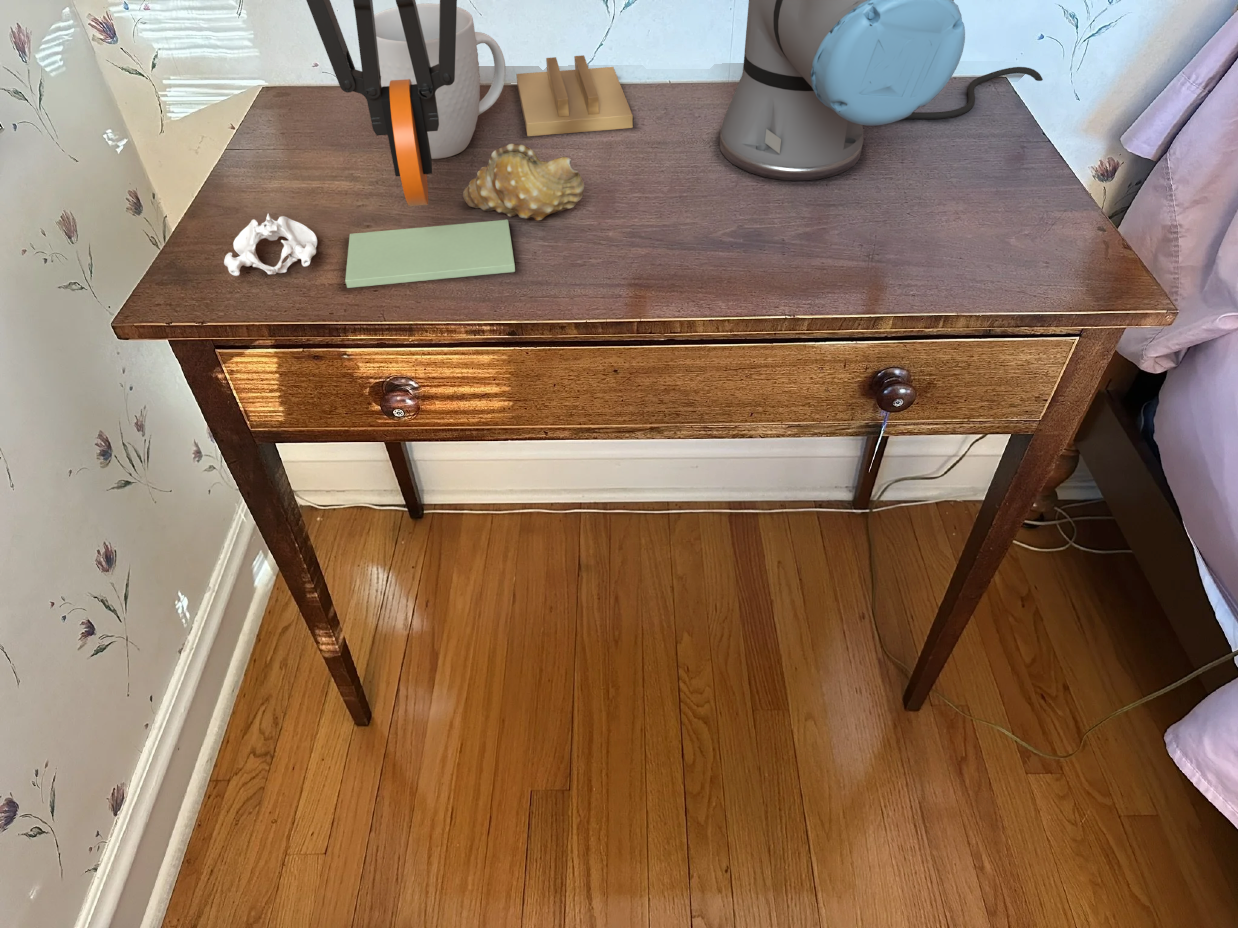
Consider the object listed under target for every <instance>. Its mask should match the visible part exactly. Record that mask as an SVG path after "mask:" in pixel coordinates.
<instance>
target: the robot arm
mask: <svg viewBox="0 0 1238 928" xmlns="http://www.w3.org/2000/svg"><path fill="white" fill-rule="evenodd" d="M305 1H306V3H307V6H308V8H309V11H310V13H311V15H312V16H311V17H312V19H313V21H314V23H315V26H316V29H317V31H318V35H319V37H320V39H321V41H322V44H323V47H324V49H325V52H326V55H327V57H328V59H329V62H330V65H331V68H332V69H333V73H334V75H335V77H336V80H337V83H338V85H339V87H340V89H341V90H342V92H345V93H352V92H354V93H358V94H360V95H362V96H363V97H364V98H365V99H366V102H367V108H368V112H369V117H370V122H371V126H372V131H373V132H374V135H376V136H387V138H388V143H389V150H390V154H391V159H392V165H393V170H394V175H395V177H400V172H399V167H398V161H397V155H396V148H395V142H394V134H393V127H392V118H391V109H390V95H389V86H383V87H382V86H381V75H380V66H379V57H378V47H377V38H376V29H375V19H374V15H375V11H374V2H373V0H352V3H353V9H354V16H355V25H356V32H357V40H358V49H359V56H360V65H361V70H358V69H356V66H355V63H354V62H353V58H352V55H351V53H350V51H349V48H348V45H347V43H346V39H345V37H344V35H343V34H344V33H343V32H342V29H341V26H340V23H339V21H338V18H337V16H336V13H335V10H334V7H333V5H332V2H331V0H305ZM416 1H417V0H395V3H396V7H398V9H399V13H400V18H401V22H402V26H403V30H404V34H405V38H406V42H407V46H408V50H409V54H410V58H411V62H412V66H413V71H414V75H415V79H416V83H417V84H413V85H411V103H412V109H413V115H414V121H415V127H416V133H417V139H418V145H419V151H420V157H421V163H422V169H423V174H427V175H432V174H433V159H432V158H431V152H430V146H429V139H428V133H427V132H429V131H438V127H439V116H438V110H437V103H436V96H435V92H436V90H437V89H438V88H440V87H442V86H444V85H446V86H448V85H451V84H453V82H454V80H455V50H456V14H457V7H458V0H439V4H440V15H439V64H437V65H435V66H432V67H431V66H430V62H429V57H428V53H427V49H426V44H425V40H424V36H423V31H422V27H421V23H420V18H419V14H418V10H417V5H416V4H417V2H416ZM965 43H966V29H965V23H964V22H963V17H962V13H961V10H960V7H959V5H958V4H957V3H955V0H748V6H747V18H746V30H745V43H744V53H743V56H744V57H743V64H742V65H743V66H742V74H741V76H740V79H739V81H738V83H737V86H736V88H735V91H734V93H733V95H732V99H731V101H730V103H729V105H728V108H727V111H726V113H725V115H724V118H723V119H722V123H721V127H720V134H719V135H720V136H719V149H720V152H721V154H722V155H723V156H724V158H725V159H726V160H727V161H729V162H730V163H731V164H732V165H734V166H735V167H738V168H739V169H740V170H743V171H745V172H748V173H751V174H754V175H756V176H760V177H765V178H769V179H773V180H783V181H814V180H822V179H827V178H830V177H834V176H838V175H840V174H842V173H845V172H846V171H848V170H850V169H852V168H853V167H854V166H856V164H857V163H858V162H859V160H860V158H861V155H862V149H863V144H864V128H863V126H867V127H869V126H873V127H875V126H883V125H889V124H892V123H895V122H898V121H901V120H940V119H949V118H954V117H959V116H962V115H964V114H966V113H969V112H970V111H971V110H972V109H973V108H974V106H975V104H976V103H975V102H976V94H975V88H976V87H977V86H978V85H981V84H982V83H984V82H987V81H990V80H993V79H997V78H999V77H1003V76H1008V75H1012V74H1013V75H1015V74H1021V75H1027V76H1029V77H1031V78H1033V79H1034V80H1035V81H1036V82H1042V81H1044V79H1043V76H1042V75H1041V74H1040V73H1039V72H1038V71H1037V70H1036V69H1034V68H1031V67H1026V66H1013V67H1007V68H1006V67H1005V68H1002V69H999V70H995V71H992V72H989V73H986V74H983V75H981V76H979V77H976V78H974V79H973V80H972V81H970V83H969V84H968V86H967V103H966V104H965V105H964V106H962V107H959V108H957V109H951V110H945V111H927V112H926V111H924V112H922V111H921V112H919V111H916V110H919V108H920V107H921V108H922V107H925V106H927V105H928V104H929V103H930V102H932V101H933V100H934V99H935V97H937V96H938V95H939V94H940V93H941V92H942V90H944V88H945V87H946V85H947V84H948V83H949V82H950V80H951V79H952V77H953V75H954V74H955V71H956V70H957V68H958V66H959V64H960V61H961V58H962V56H963V52H964V48H965Z"/></svg>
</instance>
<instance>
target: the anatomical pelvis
mask: <svg viewBox="0 0 1238 928" xmlns="http://www.w3.org/2000/svg"><path fill="white" fill-rule="evenodd" d="M265 218H266V219H265V221H264V222H261V224H260V225H259V221H257V220H256V219H251V220H250V222H249V223H248V225H247V226H245V227H244V228H243V229H242V230H241V231H240V232H239V233H238V235H237V236H236V237H235V238H234V240H233V243H232V245H233V249H234V251H235V253H237V254H238V255H239V256H237V257H236V256H235V257H233V252H228V253H226V255H225V257H224V259H223V265H224V266H225V267H227V271H228V273H229V274H230V275H232V276H234V277H238V276H240V274H241V272H240V270H241V267H243V266H244V267H250V266H252V268H257V269H261V270H263V271H264V272H266V273H267V275H276V274H283V273H287V272H288V268H289V267H290V266H291V265H292V264H293V263H295V262H298V260H301V265H302V267H308V266H310V264H311V261H312V258H313V257H314V256H315V255H316V254H317V246H318V237H317V235H316V233H315V232H314V231H313V230H311V229H310V228H309V227H308V226H306V225H304V224H303V223H301V222H299V221H296V220H294V219H292V218H289V217H287V216H285V215H280V216H279V217H278V219H277V220H275V219H273V218H272V217H271V216H270V213H267V215H266V217H265ZM280 237H283V238H285V239H287V240H283V239H281V240H280V243H282V245H283V247H282V250H281V253H280V258H279V261H278V263H277V264H276V265H275V266H271V265H268V264H264V263H263V262H262V261H261V260H260V258H259V256H258V254H257V251H256V246H257V244H258V243H259V242H260V241H262V240H263V239H267V240H268V241H277V240H278V239H279V238H280ZM287 256H288V258H287V259H286V261H284V259H285V258H286V257H287ZM283 261H284V262H283Z"/></svg>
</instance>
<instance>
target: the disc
mask: <svg viewBox="0 0 1238 928" xmlns="http://www.w3.org/2000/svg"><path fill="white" fill-rule="evenodd" d="M411 85H412V82H411V80H410V79H405V80H391V81H390V85H389V95H390V109H391V118H392V127H393V134H394V142H395V148H396V155H397V161H398V167H399V172H400V176H399V177H400V182H401V186H402V191H403V194H404V198H405V202H406V204H407V206H408V207H418V206H427V205H428V204H429V183H428V174H423V169H422V163H421V157H420V151H419V145H418V139H417V133H416V127H415V121H414V115H413V109H412V103H411Z"/></svg>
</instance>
